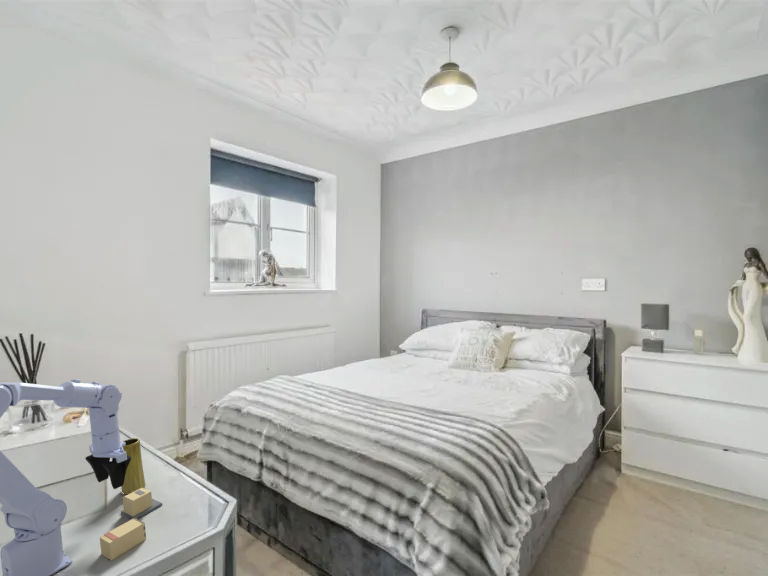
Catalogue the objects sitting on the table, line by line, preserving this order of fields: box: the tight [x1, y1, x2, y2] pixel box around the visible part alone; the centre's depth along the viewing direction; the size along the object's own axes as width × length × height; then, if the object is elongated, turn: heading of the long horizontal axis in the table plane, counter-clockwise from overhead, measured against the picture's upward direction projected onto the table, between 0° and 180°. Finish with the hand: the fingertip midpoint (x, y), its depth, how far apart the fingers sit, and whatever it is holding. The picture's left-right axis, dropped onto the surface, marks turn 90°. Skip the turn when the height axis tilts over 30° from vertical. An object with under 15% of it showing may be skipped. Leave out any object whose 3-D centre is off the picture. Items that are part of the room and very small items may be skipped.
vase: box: [120, 437, 147, 495], centre depth 114 cm, size 6×6×14 cm
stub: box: [122, 487, 153, 516], centre depth 103 cm, size 5×4×4 cm
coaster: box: [120, 498, 163, 520], centre depth 104 cm, size 7×7×1 cm
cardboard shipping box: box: [99, 518, 147, 562], centre depth 90 cm, size 8×4×4 cm, turn 150°
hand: (110, 483), depth 99 cm, fingers open, 7 cm apart
